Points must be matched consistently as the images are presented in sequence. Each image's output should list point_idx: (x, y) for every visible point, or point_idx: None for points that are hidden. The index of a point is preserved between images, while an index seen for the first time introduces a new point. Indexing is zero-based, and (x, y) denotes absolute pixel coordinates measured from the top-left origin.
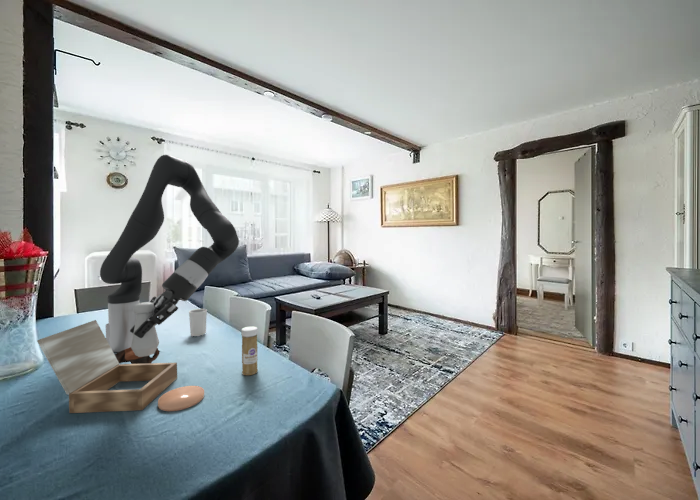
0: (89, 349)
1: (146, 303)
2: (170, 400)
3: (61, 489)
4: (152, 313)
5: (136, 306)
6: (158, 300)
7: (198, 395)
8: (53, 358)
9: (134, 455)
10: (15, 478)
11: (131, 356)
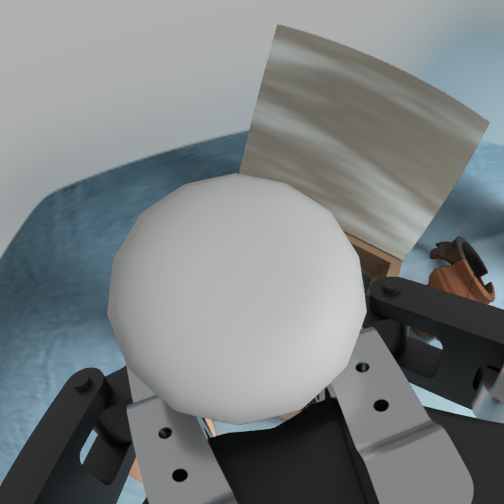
0: (376, 157)
1: (168, 318)
2: None
3: (10, 250)
4: (153, 393)
5: (166, 200)
6: (364, 485)
7: (136, 470)
8: (266, 89)
9: (15, 330)
10: (67, 192)
11: (438, 285)
